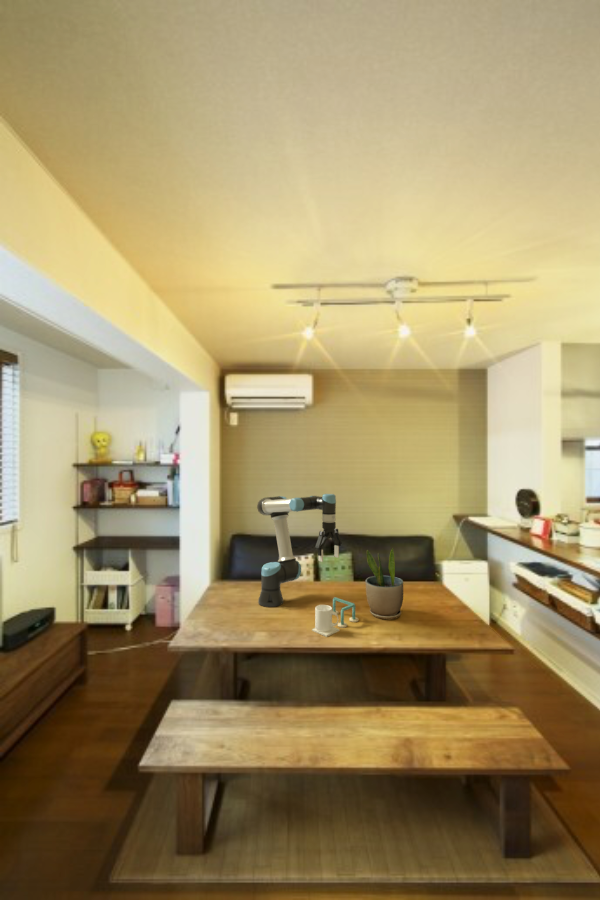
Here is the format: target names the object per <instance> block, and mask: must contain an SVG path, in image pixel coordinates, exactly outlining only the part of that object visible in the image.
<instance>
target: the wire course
mask: <svg viewBox="0 0 600 900" xmlns="http://www.w3.org/2000/svg"><path fill="white" fill-rule="evenodd" d="M337 602H339V603H341V604H344V605H347V606H344V607H342V608H341V610H340V613H339V611H338V610H337V607H336V606H337V605H336V604H337ZM350 609H351V610H352V612H351V613H352V616H351V617H349V619H348V621H349V622H351V623H358V622H359V617H356V604H355V602H351V601H349V600H344V599H341V598H339V597H335V596H334V597H333V598H332V611H334V612H335V613H336V614H337V615H338V616H339V614H340V622H338V624H337V628H338V627H339V629H340V628H343V629H344V628H347V627H348V624H347V623H346V622H345V612H346V611H347V610H350Z"/></svg>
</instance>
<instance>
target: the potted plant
mask: <svg viewBox="0 0 600 900" xmlns="http://www.w3.org/2000/svg"><path fill="white" fill-rule="evenodd" d="M388 557H389V560H388V572H389V575H384V571H383V565H382V562H381V558H380V554H379V553H377V558H378V559H377V560H378V562H379V563H378V564H377V562H376V561H375V558H374V557H373V555H372V554H371V552H370V551H369V550H368V549H367V550H366V561H367V565H368V567H369V569H370V570H371V572H372V573H373V575H374V576H373V575H372V576H369V577H367V578H366V579H365V593H366V594H365V595H366V600H367V604H368V606H369V613H370V614H371V615H372V616H373V617H375V618H377V619H382V620H395V619H397V618H399V617H400V616H401V615H402V610H401V608H402V606H403V602H404V601H403V600H404V580H403V579H402V578H399V577H396V576H395V575H396V573H395V572H396V571H395V570H396V569H395V568H396V567H395V566H396V563H395V553H394V548H392V549H390V553H389V556H388Z"/></svg>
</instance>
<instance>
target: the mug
mask: <svg viewBox="0 0 600 900" xmlns="http://www.w3.org/2000/svg"><path fill="white" fill-rule="evenodd" d="M314 608H315V609H314V611H315V612H314V614H315V615H314V619H315V620H314V623H315V624H314V628H316V629H317V630H318V631H321V632H327V631H330V630H331V629H332V627H336V626H338V623H339V620H337V621H336V622H335V623H334V622H333V616H336V618H337V619H339V614H338V615H337V614H336V613H335V612H334V611H332V610H333V606H331V605H327V604H318V605H316V606H315V607H314Z"/></svg>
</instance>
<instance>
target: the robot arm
mask: <svg viewBox="0 0 600 900" xmlns="http://www.w3.org/2000/svg"><path fill="white" fill-rule="evenodd" d="M336 506H337V498H336V495H335V494H334V493H324V494H322V496H319V495H310V496H304V497H292V498H287V497H286V496H280V495H279V496H270V497H269V496H267V497H263V498H260V500H259V501H258V502H257V504H256V510H257V511H258V513H259V514H260V515H261V516H262V515H263V516H270V519H271V520H273V525H274V531H275V536H276V538H275V539H276V543H277V549H278V556H279V559H277V561H271V562H267V563H265V564H263V566H262V567H261V574H260V575H261V578H260V579H261V587H260V589H261V590H260V594H259V597H258V599H257V600H258V602H257V603H258V605H259V606H261V607H266V608H274V607H278V606H281V605H283V604H284V598H283V597H284V596H283V594H282V590H281V584H284V583H288V582H293V581H296V580H297V579H299V578H300V576H301V574H302V565H301V563H300V562H299V560H297V559H296V557H295V556H294V554H293V549H292V543H291V541H292V540H291V537H290V531H289V525H288V524H289V523H288V519H287V518H288V517H289V513H290V512H296V513H297V512H303V511H314V510H318V511H319V510H321V511H322V512H321V513H322V517H321V519H322V524H321V525H322V529H323V531H321V530H320V531H319V532H318V538H317V541H316V543H315V547H314V549H315V550H317V556H318V562H321V563H323V562H324V545H326V542H327V541H328V539H331V540H332V542H333V543H334V546H333V547H334V550H333V551H334V552H333V553H334V554H333V555H334V557H335V558H337V559H338V558H340V547H341V546H342V544H343V542H342V538H341V536H340V533H339V529H338V528H336V524H337V523H336V517H337V516H336V510H337V509H336Z"/></svg>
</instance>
